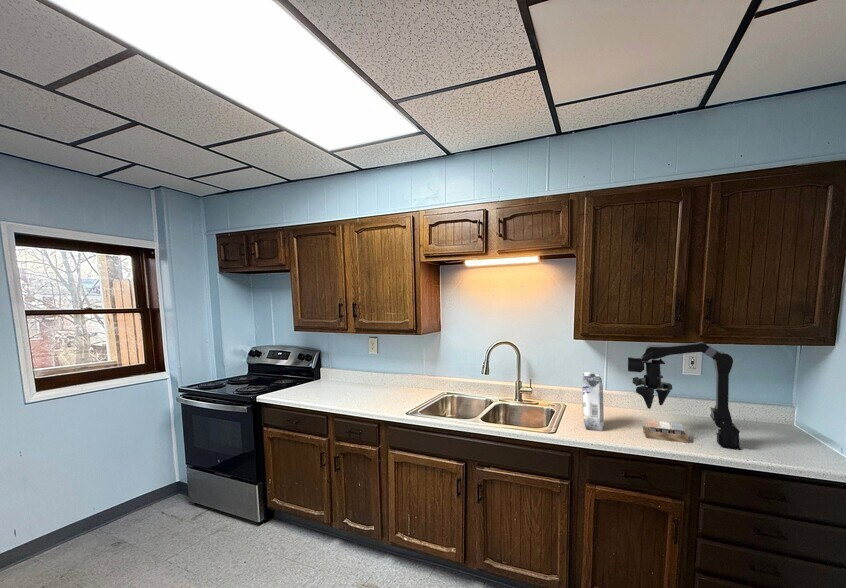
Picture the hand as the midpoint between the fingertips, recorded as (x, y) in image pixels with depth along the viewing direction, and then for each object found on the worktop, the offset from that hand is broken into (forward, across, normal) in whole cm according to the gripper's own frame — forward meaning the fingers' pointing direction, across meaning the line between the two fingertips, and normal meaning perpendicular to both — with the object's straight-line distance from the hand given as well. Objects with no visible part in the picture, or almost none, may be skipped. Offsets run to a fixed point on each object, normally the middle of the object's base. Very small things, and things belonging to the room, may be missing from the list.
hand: (655, 406), depth 163 cm
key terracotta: (+11, +2, 0) cm, 12 cm away
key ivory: (+11, -1, +3) cm, 12 cm away
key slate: (+11, -4, +7) cm, 14 cm away
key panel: (+13, -1, +3) cm, 14 cm away
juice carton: (+13, +16, -21) cm, 29 cm away
